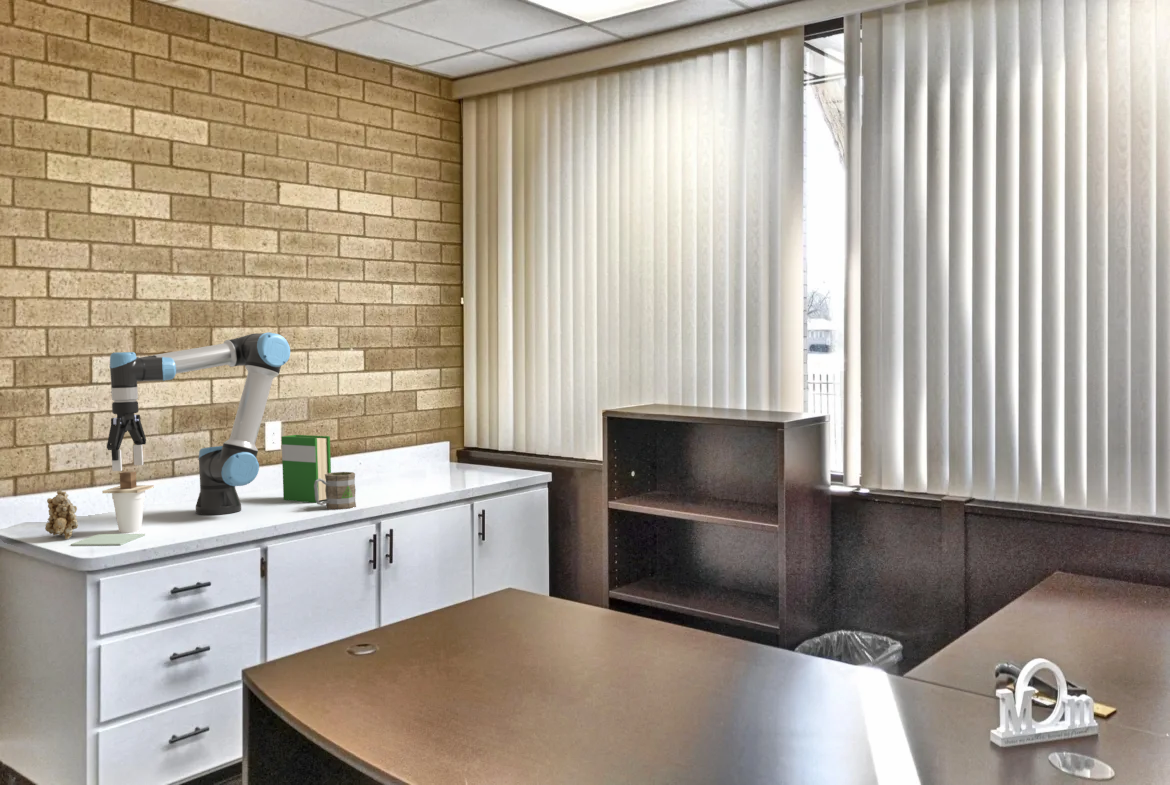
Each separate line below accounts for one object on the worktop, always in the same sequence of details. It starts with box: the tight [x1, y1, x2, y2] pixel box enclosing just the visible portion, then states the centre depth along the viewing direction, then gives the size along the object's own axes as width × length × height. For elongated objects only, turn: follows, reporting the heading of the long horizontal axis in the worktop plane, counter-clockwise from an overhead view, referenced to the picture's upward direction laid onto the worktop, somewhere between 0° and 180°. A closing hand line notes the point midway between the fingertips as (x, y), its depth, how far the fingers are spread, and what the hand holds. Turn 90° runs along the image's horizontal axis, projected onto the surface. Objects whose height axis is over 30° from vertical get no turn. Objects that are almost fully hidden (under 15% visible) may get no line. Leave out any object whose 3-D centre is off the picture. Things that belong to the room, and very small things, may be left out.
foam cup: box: [111, 490, 146, 534], centre depth 313 cm, size 10×9×13 cm
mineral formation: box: [44, 489, 79, 540], centre depth 303 cm, size 8×13×15 cm, turn 50°
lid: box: [102, 471, 155, 494], centre depth 312 cm, size 11×11×6 cm
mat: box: [70, 533, 146, 547], centre depth 298 cm, size 15×15×1 cm
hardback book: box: [281, 434, 332, 504], centre depth 370 cm, size 18×7×24 cm, turn 59°
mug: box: [314, 471, 357, 511], centre depth 350 cm, size 16×11×12 cm
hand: (128, 468), depth 312 cm, fingers open, 13 cm apart
